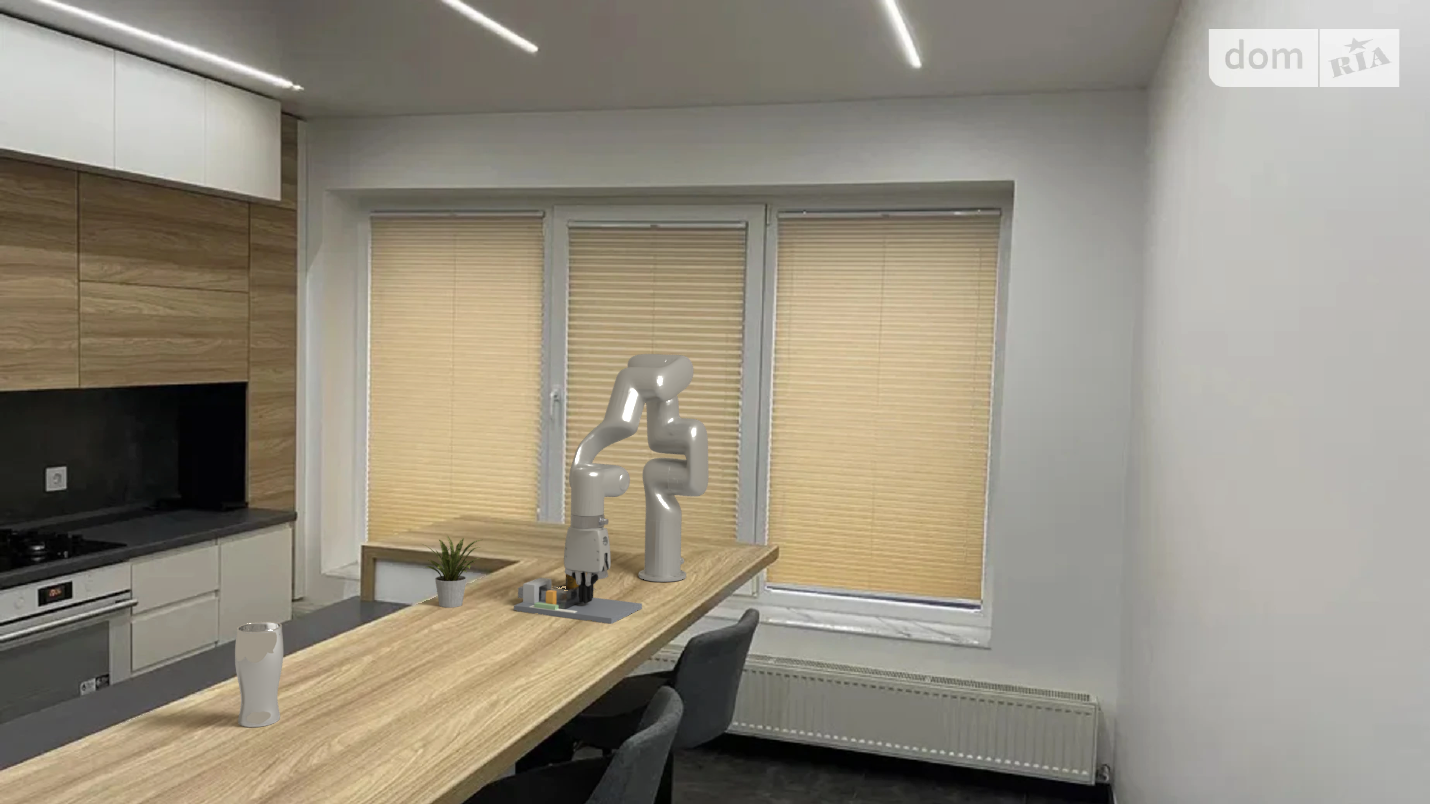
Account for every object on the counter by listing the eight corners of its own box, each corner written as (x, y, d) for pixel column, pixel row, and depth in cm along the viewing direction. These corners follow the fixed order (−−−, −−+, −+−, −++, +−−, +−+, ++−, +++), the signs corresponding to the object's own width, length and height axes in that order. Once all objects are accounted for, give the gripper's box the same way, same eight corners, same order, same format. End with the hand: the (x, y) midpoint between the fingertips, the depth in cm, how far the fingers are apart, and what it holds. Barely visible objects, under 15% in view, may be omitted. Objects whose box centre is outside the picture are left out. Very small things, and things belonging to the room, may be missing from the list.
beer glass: (244, 713, 166) (244, 620, 165) (289, 712, 167) (289, 620, 166) (227, 728, 159) (227, 632, 158) (274, 728, 160) (274, 632, 159)
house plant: (500, 602, 242) (501, 533, 241) (462, 615, 230) (463, 542, 229) (451, 595, 248) (452, 527, 247) (411, 607, 236) (412, 536, 235)
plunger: (527, 594, 245) (528, 579, 245) (583, 601, 240) (584, 586, 240) (507, 601, 237) (507, 586, 237) (565, 609, 232) (565, 593, 232)
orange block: (549, 605, 235) (549, 589, 235) (556, 606, 235) (556, 590, 234) (545, 606, 234) (545, 591, 234) (552, 607, 233) (552, 592, 233)
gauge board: (548, 596, 249) (548, 574, 248) (641, 608, 239) (642, 585, 239) (513, 610, 235) (514, 587, 234) (611, 623, 225) (611, 599, 225)
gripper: (623, 522, 236) (622, 601, 237) (567, 517, 242) (565, 594, 242) (608, 527, 229) (606, 609, 230) (550, 521, 235) (548, 601, 235)
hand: (585, 601), depth 236 cm, fingers closed
